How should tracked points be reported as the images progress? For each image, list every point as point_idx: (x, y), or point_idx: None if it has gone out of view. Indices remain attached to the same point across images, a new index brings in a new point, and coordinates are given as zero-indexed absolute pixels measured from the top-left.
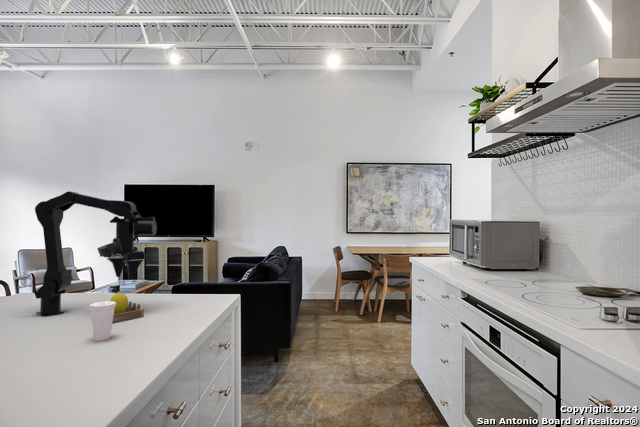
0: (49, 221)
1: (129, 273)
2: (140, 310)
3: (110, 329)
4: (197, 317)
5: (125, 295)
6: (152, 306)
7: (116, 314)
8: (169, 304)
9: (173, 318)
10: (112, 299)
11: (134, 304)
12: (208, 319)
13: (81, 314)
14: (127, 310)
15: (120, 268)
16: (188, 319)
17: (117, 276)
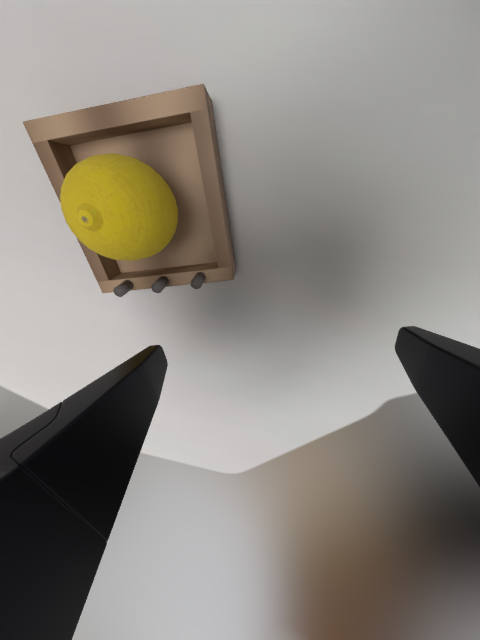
0: None
1: (100, 382)
2: (97, 279)
3: None
4: (39, 375)
5: (95, 251)
6: (261, 355)
7: (49, 167)
8: (248, 394)
9: (52, 334)
10: (80, 162)
11: (152, 284)
12: (6, 381)
13: (372, 58)
14: (213, 263)
15: (465, 428)
16: (24, 354)
17: (403, 332)
